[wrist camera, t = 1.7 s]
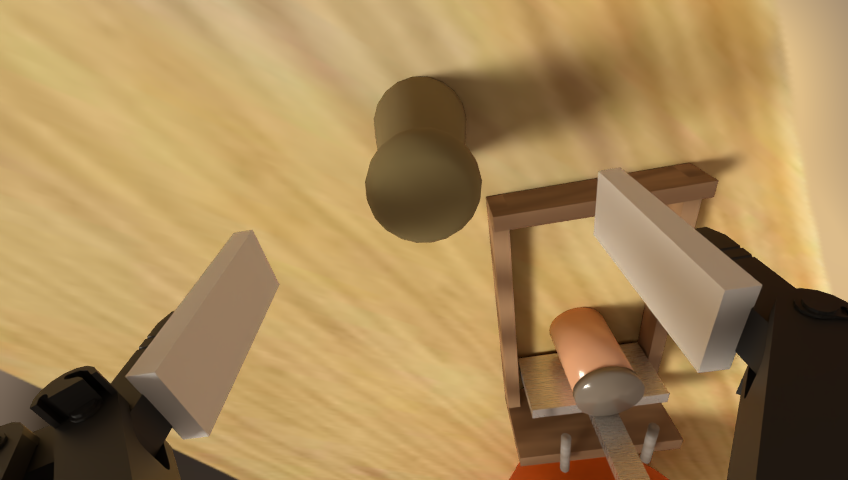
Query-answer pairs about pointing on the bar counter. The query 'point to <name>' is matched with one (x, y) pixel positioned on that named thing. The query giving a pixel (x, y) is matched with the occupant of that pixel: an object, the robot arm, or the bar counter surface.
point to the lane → (651, 421)
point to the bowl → (575, 471)
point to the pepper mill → (422, 163)
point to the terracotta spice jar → (595, 363)
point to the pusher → (556, 398)
